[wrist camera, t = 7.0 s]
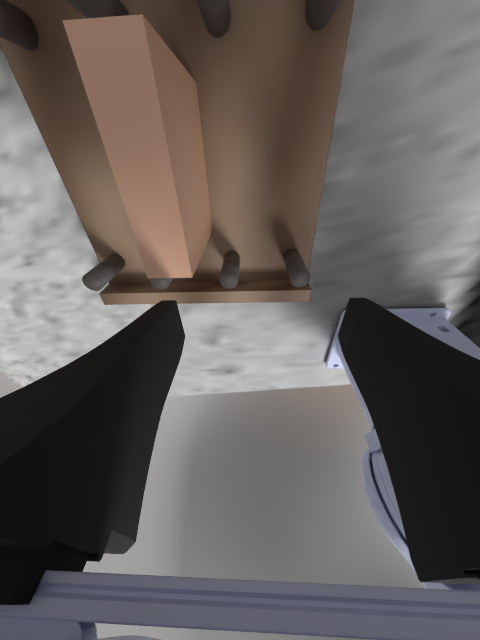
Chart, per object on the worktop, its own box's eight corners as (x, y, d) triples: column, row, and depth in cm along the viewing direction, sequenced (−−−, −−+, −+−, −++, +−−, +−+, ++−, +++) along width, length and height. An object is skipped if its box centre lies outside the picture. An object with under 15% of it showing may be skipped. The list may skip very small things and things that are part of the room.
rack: (363, -111, 8) (452, -309, 5) (301, 284, 19) (314, 316, 15) (-33, -73, 9) (-219, -219, 5) (121, 287, 20) (92, 319, 16)
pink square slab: (196, 82, 11) (142, 13, 5) (212, 230, 15) (192, 277, 10) (156, 85, 11) (62, 20, 5) (183, 231, 15) (147, 278, 10)
